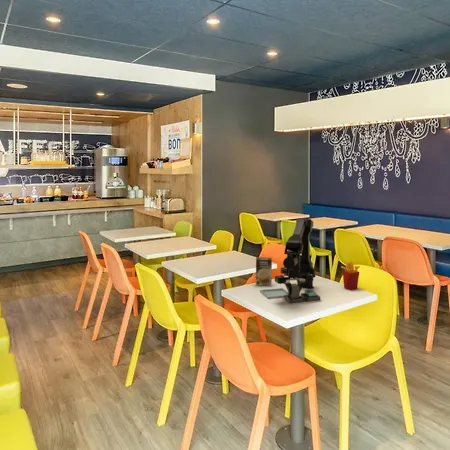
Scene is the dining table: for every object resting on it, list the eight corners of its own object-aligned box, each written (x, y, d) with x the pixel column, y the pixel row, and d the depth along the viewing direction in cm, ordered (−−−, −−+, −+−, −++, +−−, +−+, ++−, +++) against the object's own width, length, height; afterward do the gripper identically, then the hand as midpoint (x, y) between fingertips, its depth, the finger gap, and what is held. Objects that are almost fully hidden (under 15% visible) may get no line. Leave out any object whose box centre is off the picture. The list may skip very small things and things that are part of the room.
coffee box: (255, 287, 246) (255, 259, 244) (255, 284, 252) (255, 257, 250) (271, 287, 245) (271, 259, 243) (271, 284, 251) (271, 257, 249)
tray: (282, 290, 238) (282, 287, 238) (291, 297, 225) (291, 294, 225) (259, 292, 235) (259, 290, 235) (268, 300, 222) (268, 297, 222)
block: (295, 294, 220) (295, 283, 219) (299, 297, 215) (299, 286, 215) (288, 295, 219) (288, 284, 218) (292, 298, 214) (292, 286, 214)
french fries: (359, 289, 238) (360, 262, 236) (348, 291, 235) (348, 264, 233) (348, 285, 246) (349, 259, 244) (337, 287, 243) (337, 261, 241)
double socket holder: (314, 297, 225) (315, 288, 224) (322, 302, 217) (322, 292, 216) (282, 300, 221) (282, 291, 220) (288, 305, 213) (288, 295, 212)
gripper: (304, 259, 225) (304, 289, 227) (270, 262, 221) (270, 292, 223) (314, 264, 214) (313, 295, 217) (278, 267, 210) (278, 298, 212)
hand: (293, 294), depth 217 cm, fingers closed on block, 4 cm apart
